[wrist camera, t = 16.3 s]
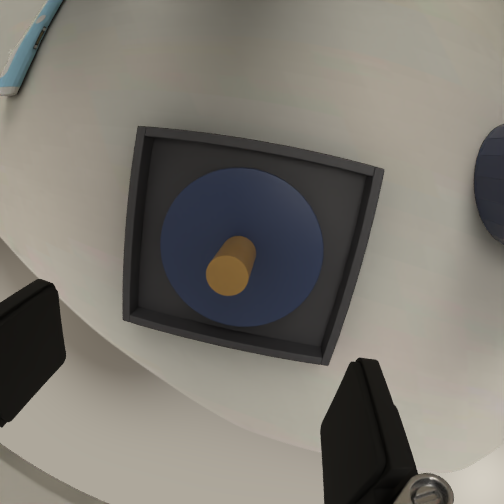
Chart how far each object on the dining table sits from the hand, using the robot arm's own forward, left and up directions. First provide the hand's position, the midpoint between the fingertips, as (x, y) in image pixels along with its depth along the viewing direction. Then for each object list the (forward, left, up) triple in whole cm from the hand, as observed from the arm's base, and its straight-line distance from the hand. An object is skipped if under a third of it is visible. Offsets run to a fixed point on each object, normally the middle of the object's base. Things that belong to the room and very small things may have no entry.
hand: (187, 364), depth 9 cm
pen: (-28, +19, -19) cm, 39 cm away
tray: (-1, -2, -19) cm, 19 cm away
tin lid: (-1, -2, -18) cm, 18 cm away
